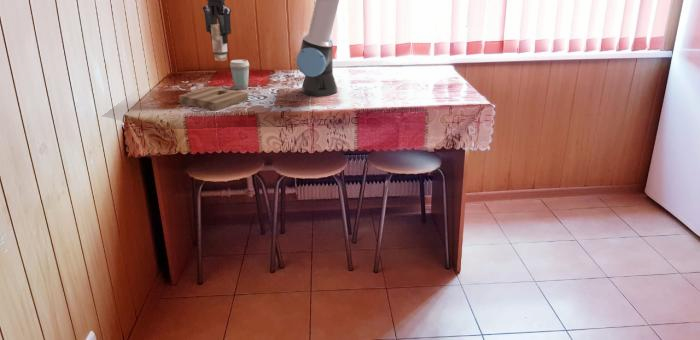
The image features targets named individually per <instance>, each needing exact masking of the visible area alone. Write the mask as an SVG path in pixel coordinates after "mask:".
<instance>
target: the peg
mask: <svg viewBox="0 0 700 340" xmlns="http://www.w3.org/2000/svg"><path fill="white" fill-rule="evenodd" d="M211 34H212V41H211V43H212V53H213V55H214V61H218V62H224V61H228V56H227V55H228V52H229V51H227V52H221V44H220V34H221V31H220V26H219V23H217V24H213V25H211ZM211 34H210V35H211Z"/></svg>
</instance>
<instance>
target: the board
mask: <svg viewBox="0 0 700 340" xmlns="http://www.w3.org/2000/svg"><path fill="white" fill-rule="evenodd" d="M178 97H179V104H184V105H187V106H188V105H189V106H194V107H197V108H202V109H207V110H211V111H216V112H217V111H219V110H223V109H225V108H229V107H232V106H235V105H238V104H241V103H243V102H247V101H249V94H248V92H245V91H240V90H239V91H238V90H235V89H234V90H232V89H228V88H221V87H217V86H209V87H206V88H201V89H198V90H195V91H194V90H193V91H191V92H187V93H185V94H181V95H178ZM228 106H229V107H228Z"/></svg>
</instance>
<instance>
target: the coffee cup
mask: <svg viewBox="0 0 700 340" xmlns="http://www.w3.org/2000/svg"><path fill="white" fill-rule="evenodd" d="M229 67H230V70H231V71H230V72H231V76H232V80H233V84H234V85H233V86H234V90H239V91H240V90H241V91H242V90H247V89H248V88H249V74H250V72H249V70H250V63H249V61H248V60H247V59H232V60H230V62H229Z"/></svg>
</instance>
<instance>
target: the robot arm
mask: <svg viewBox="0 0 700 340" xmlns="http://www.w3.org/2000/svg"><path fill="white" fill-rule="evenodd" d="M206 1H207V5H206V6H205V5H204V6H202V11H203V13H204V21H205V30H206V32H207V33H209V34H210V39H211V42H212V34H211V25H213V24H219V26H220V31H221V34H220V44H221V52H228V43H229V42H228V35H231V34H232V27H231V25H232V24H231V23H232V22H231V12H232V9H231V8H229V7H227V6H226V2H225V1H226V0H206ZM339 3H340V0H315V2H314V7H313V11H312V16H311V20H310V24H309V29H308V33H307V35H305V36H303V38H302V40H301V41H302V42H301V45H300V49H299V50H300V51H299V52H298V53H297V56H296V66H297V68H298V70H299V71H300V72H301V74H303V75H304V79H303V81H302V86H301V92H302V94H304V95H307V96H317V97H318V96H319V97H321V96H323V97H324V96H331V95H334V94H336V93H337V92H338V91H337V90H338V89H337V88H338V87H337V84H336V81H335V77H334V71H333V69H334V67H333V47H334V45H333V40H332V38H331V35H332V30H333V26H334V23H335V19H336V15H337V11H338V6H339Z"/></svg>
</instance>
